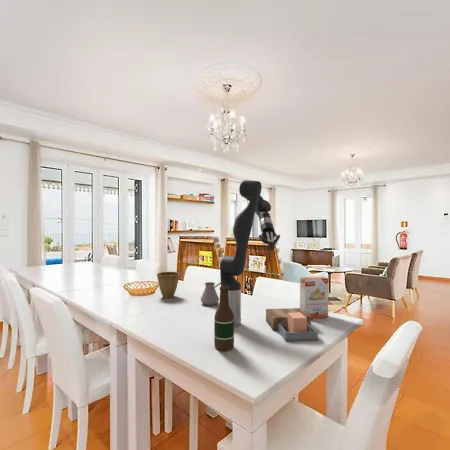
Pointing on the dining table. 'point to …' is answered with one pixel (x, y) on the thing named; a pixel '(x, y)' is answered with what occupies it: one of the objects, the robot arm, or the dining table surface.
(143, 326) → the dining table surface
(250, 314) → the dining table surface
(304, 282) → the cracker box
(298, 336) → the box
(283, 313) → the walnut platform
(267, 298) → the dining table surface
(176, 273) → the plant pot
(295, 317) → the terracotta block
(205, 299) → the coffee pot
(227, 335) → the beer bottle
